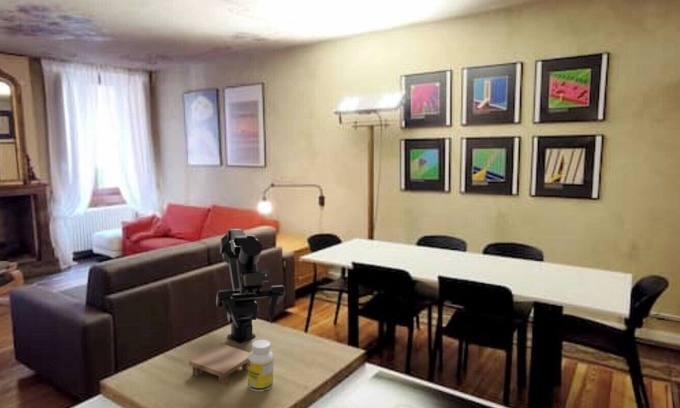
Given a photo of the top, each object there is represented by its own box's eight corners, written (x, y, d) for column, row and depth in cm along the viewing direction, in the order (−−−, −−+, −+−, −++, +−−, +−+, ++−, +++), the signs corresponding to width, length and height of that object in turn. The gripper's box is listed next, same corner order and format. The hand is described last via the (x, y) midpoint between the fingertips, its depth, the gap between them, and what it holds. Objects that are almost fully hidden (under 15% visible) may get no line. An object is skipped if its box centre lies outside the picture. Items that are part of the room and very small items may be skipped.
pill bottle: (245, 381, 118) (245, 339, 116) (269, 377, 120) (270, 336, 118) (250, 394, 112) (251, 351, 110) (275, 390, 114) (276, 347, 113)
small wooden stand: (189, 374, 120) (189, 360, 119) (220, 356, 130) (220, 343, 129) (223, 388, 114) (223, 373, 114) (253, 367, 125) (253, 354, 124)
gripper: (217, 261, 120) (222, 316, 112) (285, 257, 127) (294, 309, 119) (214, 280, 129) (218, 333, 120) (277, 276, 136) (286, 325, 127)
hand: (254, 324), depth 121 cm, fingers open, 9 cm apart
